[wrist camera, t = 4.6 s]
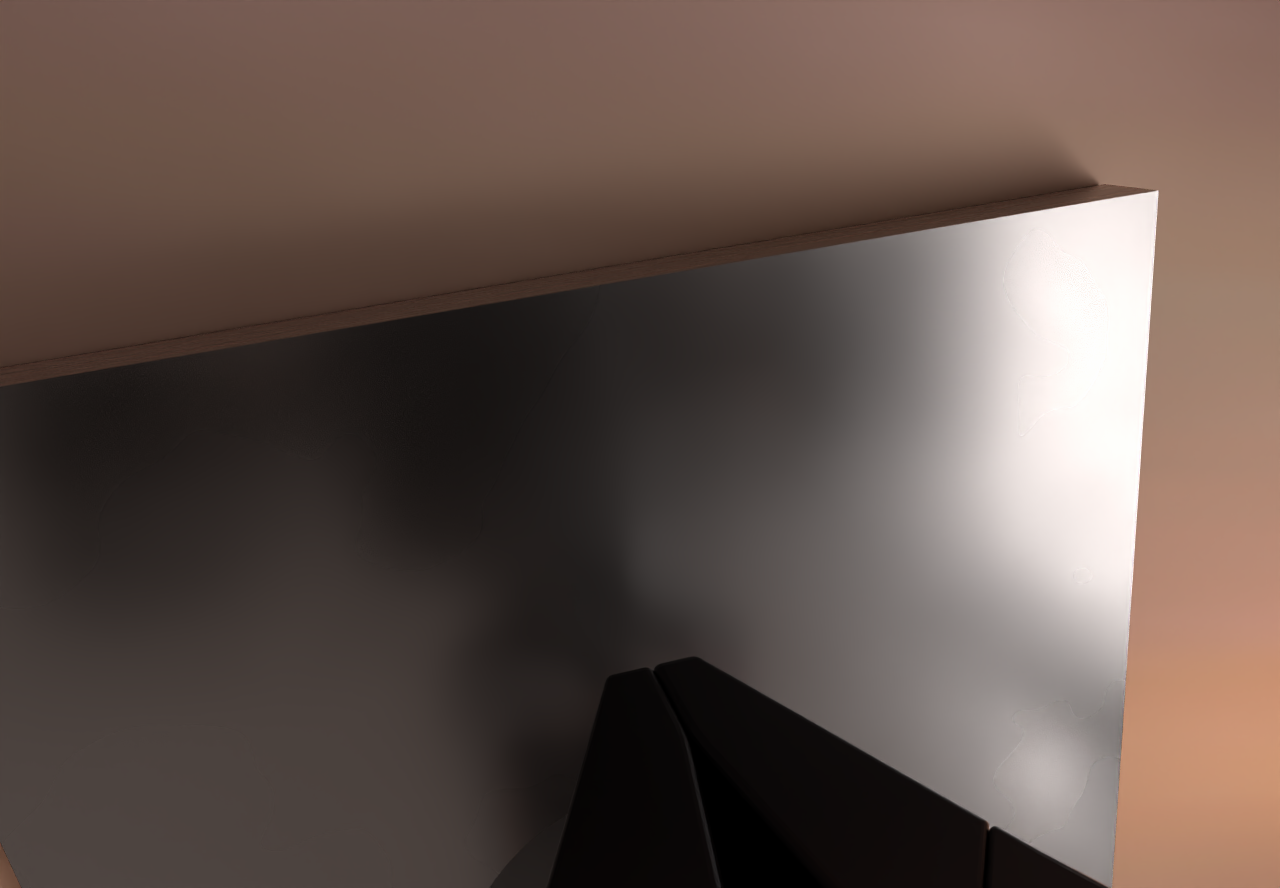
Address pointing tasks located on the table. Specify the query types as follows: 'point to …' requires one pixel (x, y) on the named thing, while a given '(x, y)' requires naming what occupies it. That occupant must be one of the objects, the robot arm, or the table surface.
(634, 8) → the table surface
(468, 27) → the table surface
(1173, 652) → the table surface
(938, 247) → the metal cylinder assembly
